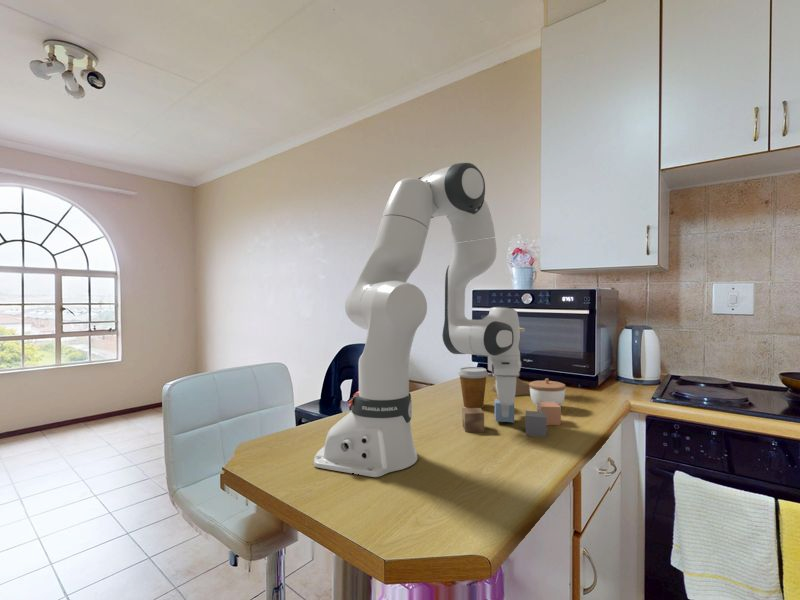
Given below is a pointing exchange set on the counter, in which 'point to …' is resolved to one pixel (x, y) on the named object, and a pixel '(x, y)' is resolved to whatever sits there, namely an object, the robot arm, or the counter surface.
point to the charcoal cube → (535, 423)
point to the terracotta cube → (550, 412)
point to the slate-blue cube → (499, 412)
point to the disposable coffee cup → (473, 386)
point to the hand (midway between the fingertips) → (504, 413)
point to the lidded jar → (547, 391)
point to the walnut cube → (473, 419)
